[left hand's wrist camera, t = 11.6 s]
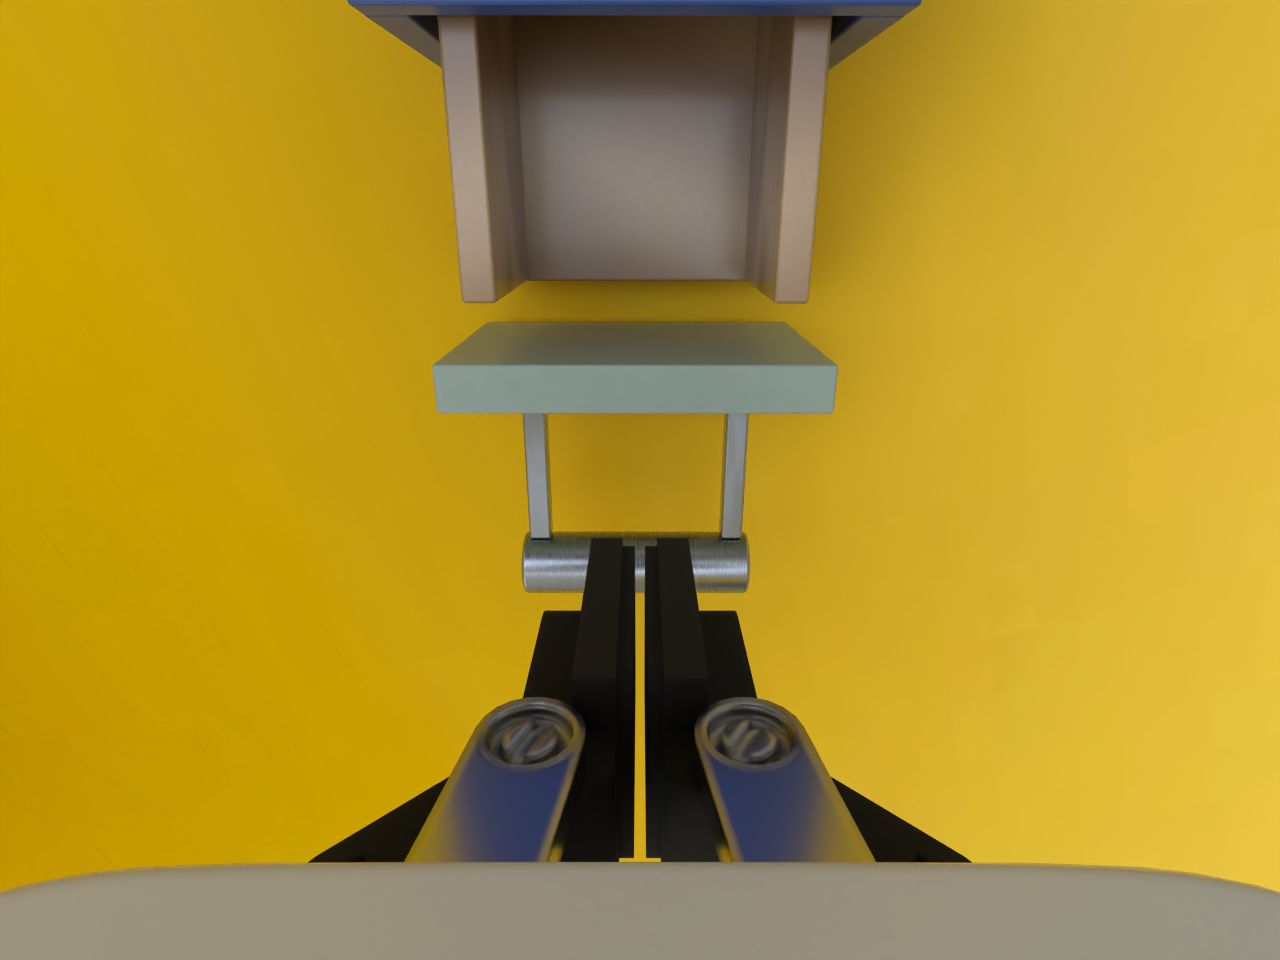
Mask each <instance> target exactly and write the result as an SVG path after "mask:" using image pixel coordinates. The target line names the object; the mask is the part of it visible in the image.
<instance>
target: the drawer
mask: <svg viewBox="0 0 1280 960" xmlns="http://www.w3.org/2000/svg"><path fill="white" fill-rule="evenodd" d="M832 17H833V16H693V15H437V18H438V30H439V41H440V53H441V64H442V76H443V87H444V99H445V110H446V122H447V134H448V145H449V157H450V168H451V180H452V191H453V203H454V214H455V226H456V237H457V249H458V261H459V272H460V284H461V295H462V301H463V302H465V303H494V302H496V301H498V300H499V299H501V298H502V297H504V296H505V295H506V294H508V293H509V292H511V291H512V290H514V289H515V288H517V287H518V286H520V285H521V284H523V283H524V282H526V281H746V282H748V283H749V284H751V285H752V286H753V287H755V288H756V289H757V290H759V291H760V292H761V293H763V294H764V295H766V296H767V297H768V298H770V299H771V300H772V301H774V302H775V303H807V302H808V300H809V289H810V278H811V266H812V254H813V242H814V230H815V218H816V207H817V195H818V183H819V171H820V159H821V147H822V136H823V124H824V112H825V100H826V88H827V76H828V64H829V53H830V41H831V29H832ZM837 372H838V366H837V365H836V364H835V363H834V362H833V361H831V360H830V359H829V358H828V357H827V356H825V355H824V354H823V353H822V352H821V351H819V350H818V349H817V348H816V347H814V346H813V345H812V344H811V343H810V342H808V341H807V340H806V339H805V338H803V337H802V336H801V335H800V334H799V333H797V332H796V331H795V330H794V329H793V328H791V327H790V326H789V325H788V324H786V323H778V322H488V323H486V324H485V325H483V326H482V327H481V328H480V329H478V330H477V331H476V332H475V333H473V334H472V335H471V336H469V337H468V338H467V339H466V340H464V341H463V342H462V343H460V344H459V345H458V346H457V347H455V348H454V349H453V350H451V351H450V352H449V353H448V354H446V355H445V356H444V357H442V358H441V359H440V360H439V361H437V362H436V363H435V364H434V365H433V377H434V386H435V396H436V406H437V411H438V413H523V425H524V442H525V459H526V475H527V492H528V509H529V525H530V532H528V533H527V534H526V536H525V539H524V543H523V551H522V579H523V586H524V589H525V591H526V592H528V593H584V587H585V580H586V573H587V566H588V559H589V553H590V546H591V539H592V538H623V546H635V593H645V546H657V538H688V539H689V546H690V553H691V559H692V566H693V573H694V580H695V587H696V593H744V592H746V591H747V588H748V584H749V575H750V556H749V545H748V539H747V536H746V534H745V533H744V532H742V520H743V503H744V486H745V468H746V451H747V434H748V417H749V414H831V413H833V411H834V402H835V392H836V382H837ZM547 413H654V414H724V434H723V456H722V478H721V500H720V522H719V531H720V532H552V531H553V522H552V500H551V479H550V458H549V437H548V415H547Z"/></svg>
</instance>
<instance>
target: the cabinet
mask: <svg viewBox="0 0 1280 960" xmlns="http://www.w3.org/2000/svg"><path fill="white" fill-rule="evenodd" d="M921 1H922V0H348V3H349V4H350V5H351V6H353V7H354V8H355V9H357V10H358V11H360V12H361V13H363V14H365V16H366V17H368V18H369V19H371V20H372V21H374V22H375V23H377V24H378V25H380V26H381V27H382V28H384V29H385V30H387V31H388V32H390V33H391V34H393V35H394V36H396V37H397V38H399V39H400V40H402V41H403V42H404V43H406V44H407V45H409V46H410V47H412V48H413V49H415V50H416V51H418V52H419V53H421V54H422V55H423V56H425V57H426V58H428V59H429V60H431V61H432V62H434V63H435V64H437V65H438V66H440V67H441V68H442V64H441V53H440V41H439V30H438V18H437V15H693V16H833V17H832V29H831V41H830V53H829V64H828V70H829V69H831V68H832V67H833V66H835V65H836V64H838V63H839V62H840V61H842V60H843V59H845V58H846V57H847V56H849V55H850V54H852V53H853V52H855V51H856V50H857V49H859V48H860V47H862V46H863V45H864V44H866V43H867V42H869V41H870V40H872V39H873V38H874V37H876V36H877V35H879V34H880V33H881V32H883V31H884V30H886V29H887V28H888V27H890V26H891V25H893V24H894V23H896V22H897V21H898V20H900V19H901V18H903V17H904V16H905V15H906V14H908V13H909V12H911V11H912V10H913V9H915V8H916V7H918V6H919V5H920V3H921Z"/></svg>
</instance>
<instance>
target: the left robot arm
mask: <svg viewBox="0 0 1280 960" xmlns="http://www.w3.org/2000/svg"><path fill="white" fill-rule="evenodd" d="M634 787H635V546H623V538H592V539H591V546H590V553H589V559H588V566H587V573H586V580H585V587H584V594H583V601H582V608H581V611H544V613H543V616H542V620H541V624H540V628H539V632H538V637H537V641H536V645H535V649H534V653H533V658H532V662H531V666H530V670H529V675H528V679H527V683H526V687H525V691H524V696H523V699H518V700H513V701H510V702H508V703H505V704H503V705H501V706H498V707H496V708H495V709H494V710H492V711H491V712H490V713H488V714H487V715H485V716H484V718H483V719H482V720H481V721H480V723H479V724H478V725H477V727H476V728H475V730H474V732H473V734H472V736H471V737H470V739H469V741H468V743H467V745H466V747H465V749H464V751H463V752H462V754H461V756H460V758H459V760H458V762H457V764H456V766H455V767H454V769H453V771H452V773H451V775H450V777H448V778H446V779H445V780H443V781H441V782H440V783H438V784H436V785H435V786H433V787H431V788H430V789H428V790H426V791H425V792H423V793H421V794H420V795H418V796H416V797H415V798H413V799H411V800H410V801H408V802H406V803H404V804H403V805H401V806H399V807H398V808H396V809H394V810H393V811H391V812H389V813H388V814H386V815H384V816H383V817H381V818H379V819H378V820H376V821H374V822H373V823H371V824H369V825H368V826H366V827H364V828H363V829H361V830H359V831H358V832H356V833H354V834H353V835H351V836H349V837H348V838H346V839H344V840H343V841H341V842H339V843H338V844H336V845H334V846H333V847H331V848H329V849H328V850H326V851H324V852H323V853H321V854H319V855H318V856H316V857H315V858H313V859H312V860H310V861H309V862H308V863H233V864H206V865H180V866H154V867H136V868H127V869H118V870H109V871H100V872H91V873H83V874H78V875H73V876H68V877H63V878H58V879H53V880H48V881H43V882H38V883H33V884H28V885H23V886H20V887H16V888H13V889H9V890H6V891H3V892H0V960H1280V892H1277V891H1274V890H1271V889H1267V888H1264V887H1260V886H1257V885H1252V884H1247V883H1242V882H1237V881H1232V880H1227V879H1222V878H1217V877H1212V876H1207V875H1202V874H1197V873H1189V872H1180V871H1171V870H1162V869H1153V868H1144V867H1126V866H1100V865H1074V864H1047V863H972V862H971V861H970V860H968V859H967V858H965V857H964V856H962V855H961V854H959V853H957V852H956V851H954V850H952V849H951V848H949V847H947V846H946V845H944V844H942V843H941V842H939V841H937V840H936V839H934V838H932V837H931V836H929V835H927V834H926V833H924V832H922V831H921V830H919V829H917V828H916V827H914V826H912V825H911V824H909V823H907V822H906V821H904V820H902V819H901V818H899V817H897V816H896V815H894V814H892V813H891V812H889V811H887V810H886V809H884V808H882V807H881V806H879V805H877V804H876V803H874V802H872V801H870V800H869V799H867V798H865V797H864V796H862V795H860V794H859V793H857V792H855V791H854V790H852V789H850V788H849V787H847V786H845V785H844V784H842V783H840V782H839V781H837V780H835V779H834V778H832V777H830V775H829V773H828V771H827V769H826V767H825V766H824V764H823V762H822V760H821V758H820V756H819V754H818V752H817V751H816V749H815V747H814V745H813V743H812V741H811V739H810V737H809V736H808V734H807V732H806V730H805V728H804V727H803V725H802V724H801V723H800V721H799V720H798V719H797V718H796V716H795V715H793V714H792V713H790V712H789V711H788V710H786V709H785V708H784V707H782V706H779V705H777V704H775V703H772V702H770V701H767V700H762V699H757V696H756V691H755V687H754V683H753V679H752V675H751V670H750V666H749V662H748V658H747V653H746V649H745V645H744V641H743V637H742V632H741V628H740V624H739V620H738V616H737V613H736V611H699V608H698V601H697V594H696V587H695V580H694V573H693V566H692V559H691V553H690V546H689V539H688V538H657V546H645V787H646V858H661V862H619V858H634Z"/></svg>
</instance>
